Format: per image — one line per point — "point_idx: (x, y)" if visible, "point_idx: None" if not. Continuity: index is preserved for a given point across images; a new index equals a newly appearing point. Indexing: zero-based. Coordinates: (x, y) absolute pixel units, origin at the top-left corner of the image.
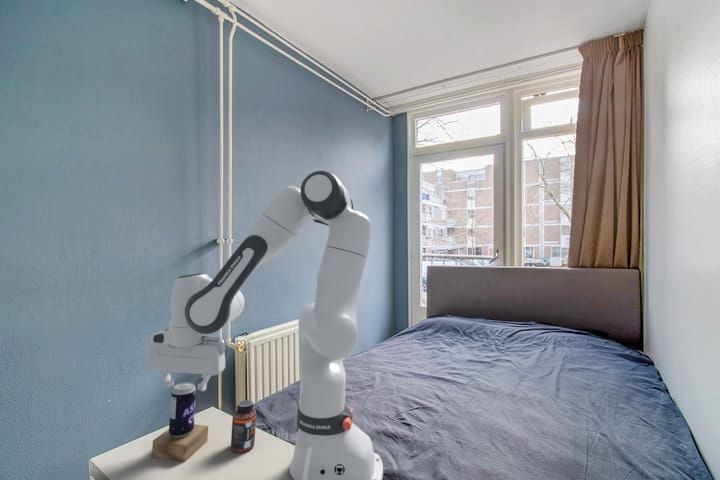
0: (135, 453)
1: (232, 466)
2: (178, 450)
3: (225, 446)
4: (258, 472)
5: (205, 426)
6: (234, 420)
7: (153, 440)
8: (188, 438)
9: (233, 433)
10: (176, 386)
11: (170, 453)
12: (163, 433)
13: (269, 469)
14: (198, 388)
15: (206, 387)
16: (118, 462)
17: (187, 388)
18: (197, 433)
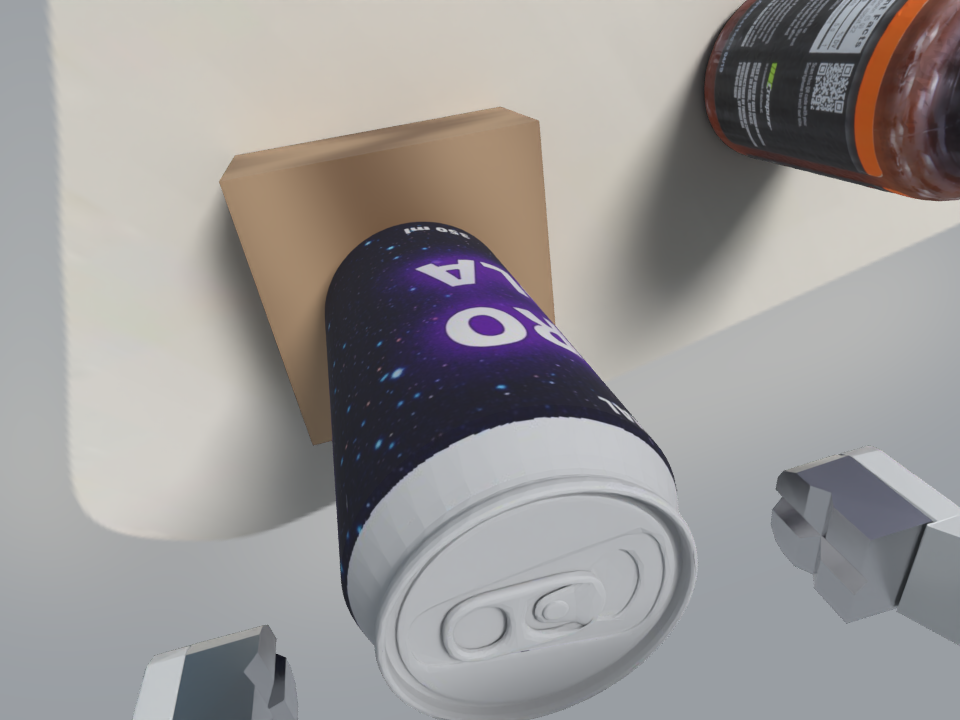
0: (177, 406)
1: (777, 256)
2: None
3: (657, 112)
4: (906, 240)
5: (523, 140)
6: (898, 193)
7: (315, 442)
8: None
9: (812, 172)
10: (418, 667)
11: None
12: (293, 363)
13: (952, 200)
14: (813, 563)
15: (880, 452)
16: (188, 487)
17: (630, 607)
18: (537, 254)
